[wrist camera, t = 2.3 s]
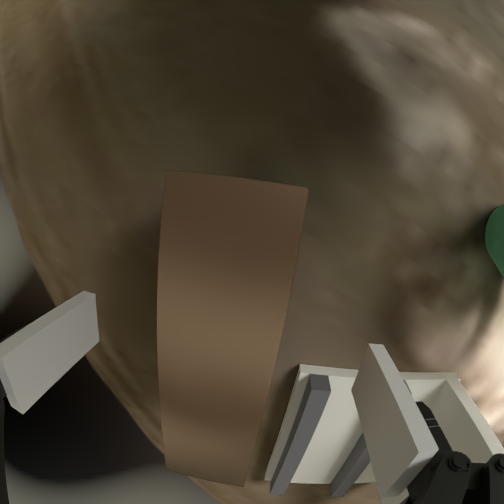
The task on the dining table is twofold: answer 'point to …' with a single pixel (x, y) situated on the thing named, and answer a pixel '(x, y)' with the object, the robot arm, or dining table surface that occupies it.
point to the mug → (496, 237)
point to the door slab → (221, 314)
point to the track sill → (351, 434)
